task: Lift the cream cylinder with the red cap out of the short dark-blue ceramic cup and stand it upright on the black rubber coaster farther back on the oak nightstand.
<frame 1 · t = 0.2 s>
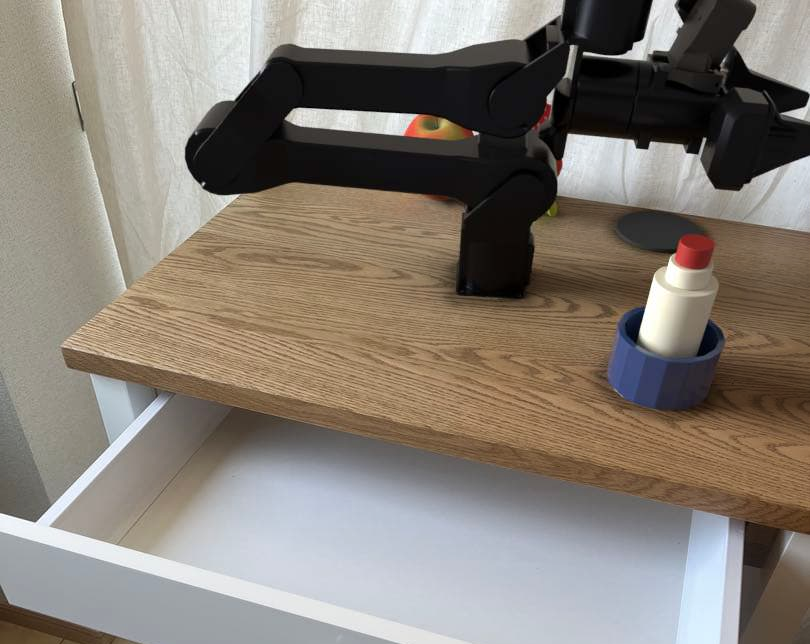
cup: (656, 384, 69), on the table
apple: (436, 198, 93), on the table
bird rattle: (534, 207, 92), on the table
coaster: (658, 232, 88), on the table
cream cylinder: (657, 379, 69), resting on cup
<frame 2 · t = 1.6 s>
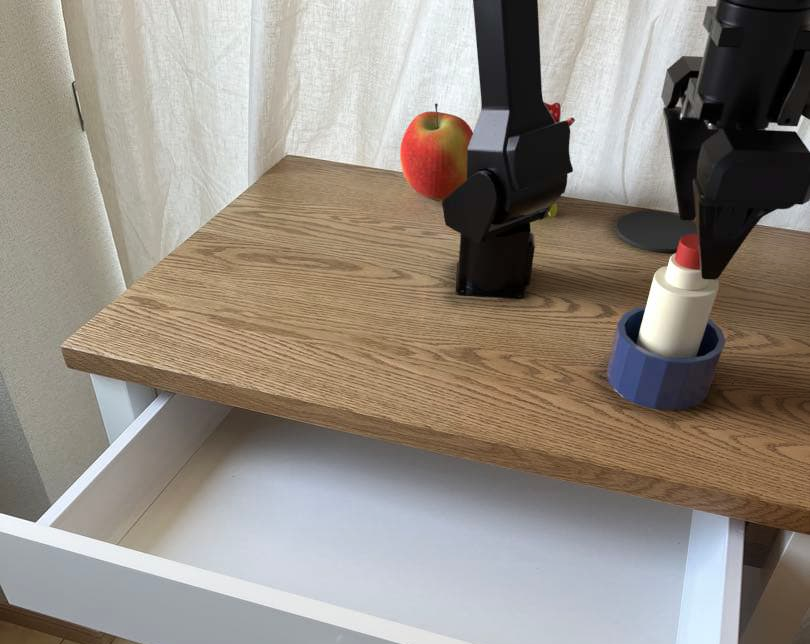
hand: (697, 247, 60), 12 cm above the table, tool pointing down, fingers open, 9 cm apart
nothing on the table moved.
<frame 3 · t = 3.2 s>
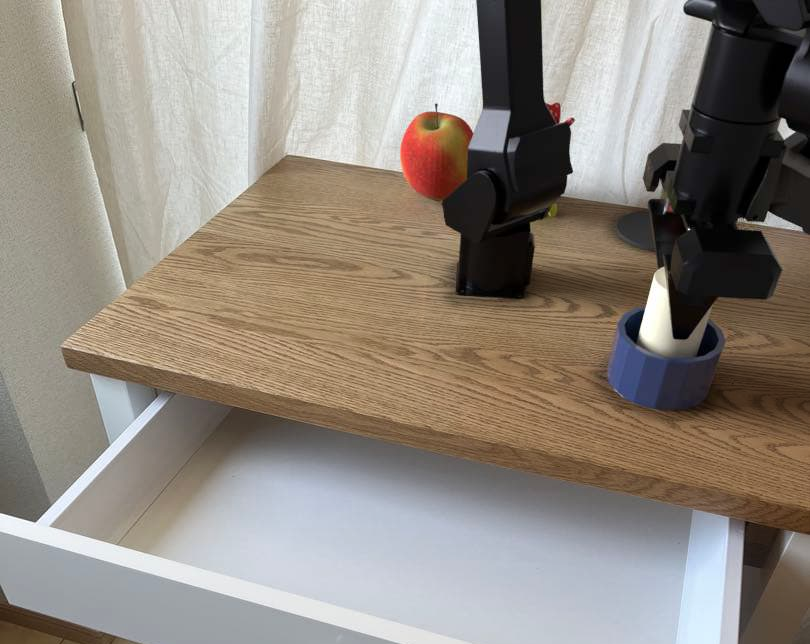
hand: (674, 320, 65), 6 cm above the table, tool pointing down, fingers closed on cream cylinder, 5 cm apart
cream cylinder: (657, 379, 69), point 1 cm above the table, touching cup, gripper
everything else where it was.
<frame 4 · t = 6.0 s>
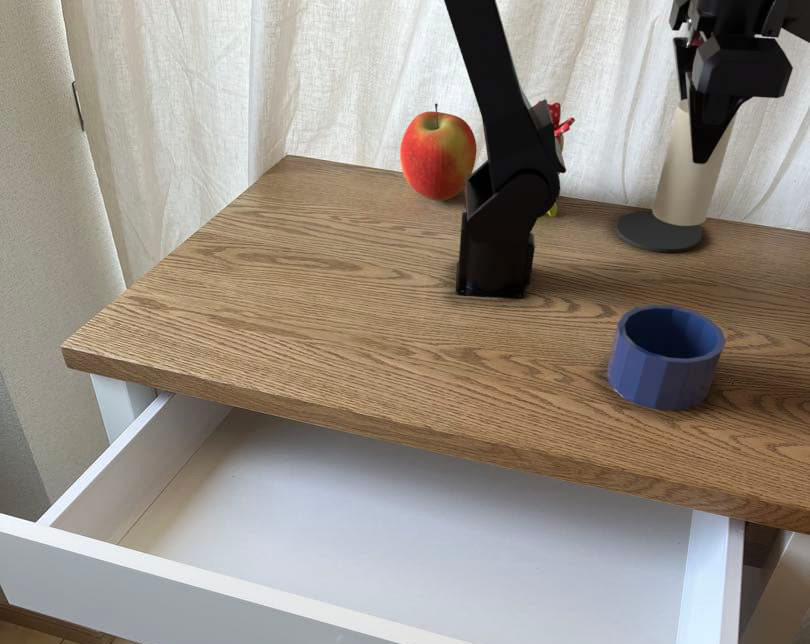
hand: (695, 151, 71), 13 cm above the table, tool pointing down, fingers closed on cream cylinder, 5 cm apart
cream cylinder: (678, 214, 75), point 7 cm above the table, touching gripper
everything else where it was.
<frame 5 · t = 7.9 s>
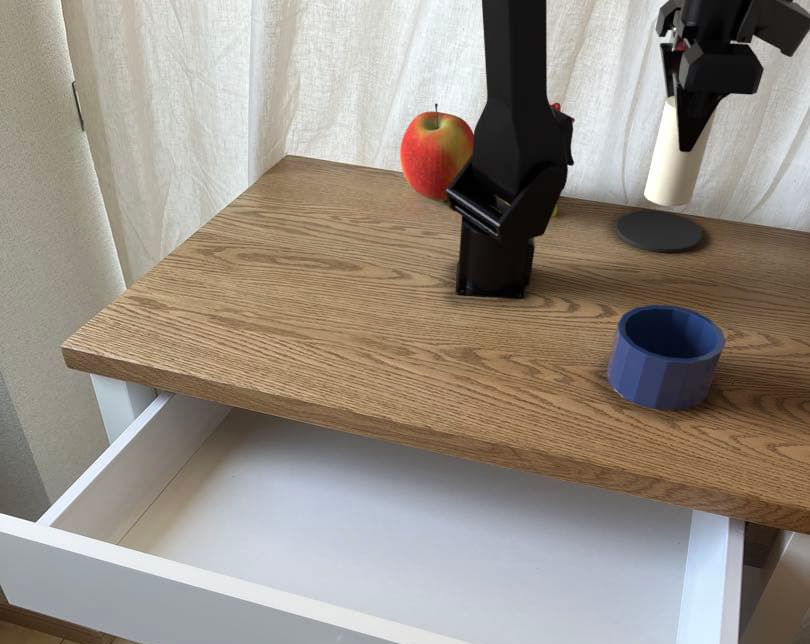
hand: (680, 141, 82), 9 cm above the table, tool pointing down, fingers closed on cream cylinder, 5 cm apart
cream cylinder: (667, 196, 85), point 4 cm above the table, touching gripper
everything else where it was.
when the fingers open (6 cm above the table, at t = 9.3 s): cream cylinder stays where it is, resting on coaster.
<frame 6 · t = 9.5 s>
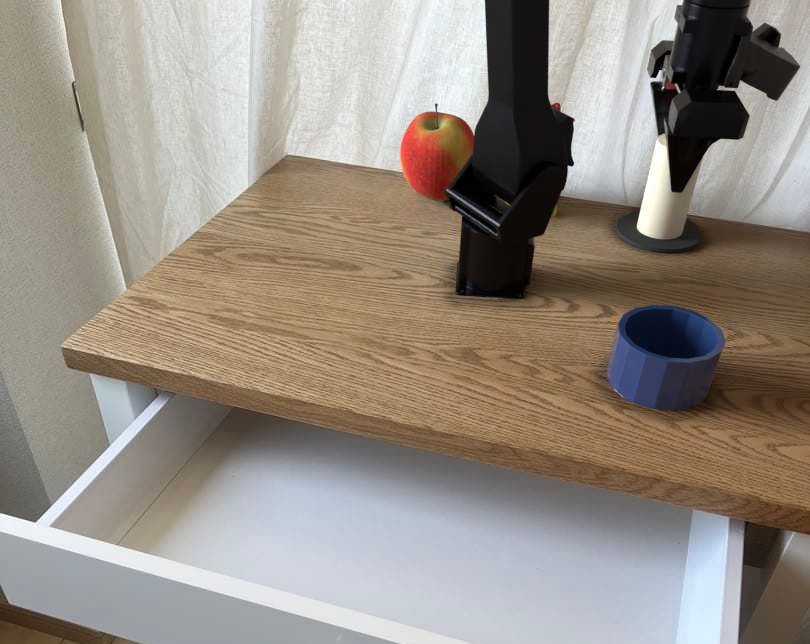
hand: (671, 178, 84), 6 cm above the table, tool pointing down, fingers open, 6 cm apart
cream cylinder: (659, 229, 88), resting on coaster
everything else where it was.
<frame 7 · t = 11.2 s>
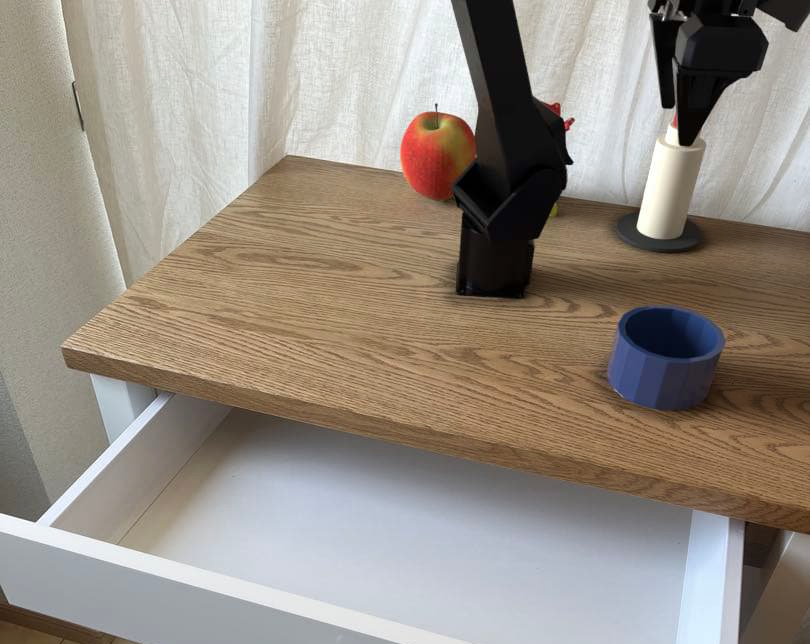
hand: (675, 126, 75), 13 cm above the table, tool pointing down, fingers open, 9 cm apart
nothing on the table moved.
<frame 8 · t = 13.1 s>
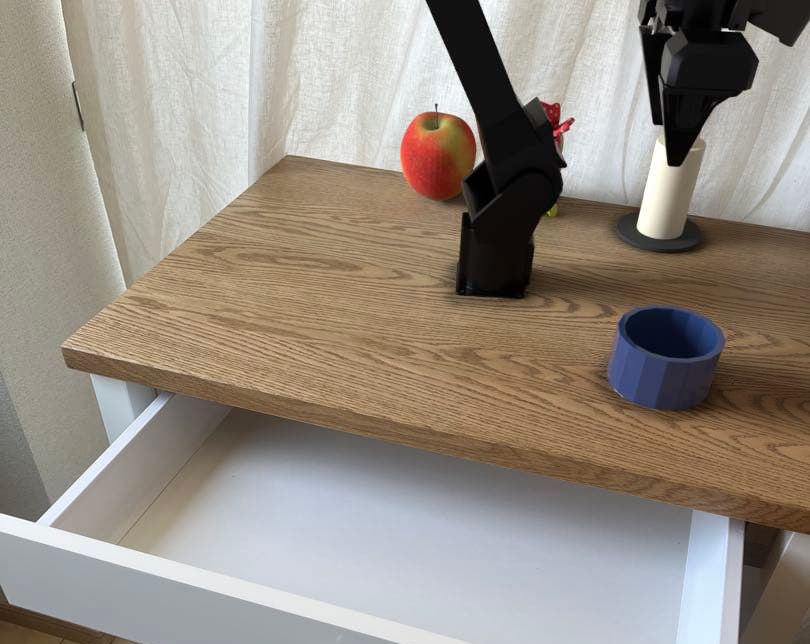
hand: (665, 144, 72), 13 cm above the table, tool pointing down, fingers open, 9 cm apart
nothing on the table moved.
at the end: cream cylinder 0.0 cm off-centre on the coaster, point 0.4 cm above the coaster's base; cream cylinder tilted 0°; cream cylinder touching coaster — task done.
